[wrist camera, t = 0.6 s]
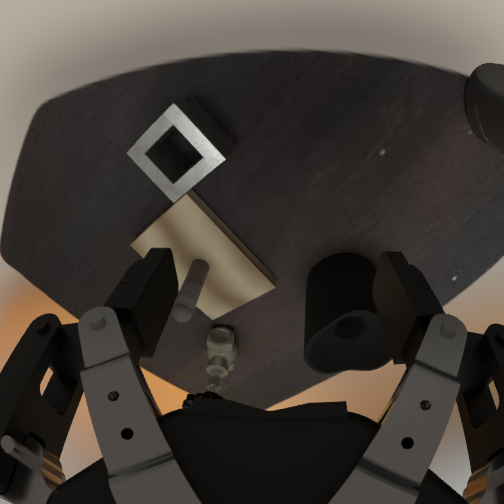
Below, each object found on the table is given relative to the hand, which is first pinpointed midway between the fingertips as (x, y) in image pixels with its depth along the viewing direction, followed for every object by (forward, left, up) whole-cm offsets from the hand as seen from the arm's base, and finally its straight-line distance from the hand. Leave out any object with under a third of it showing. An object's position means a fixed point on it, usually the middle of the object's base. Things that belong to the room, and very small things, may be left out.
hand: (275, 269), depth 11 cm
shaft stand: (+15, +4, -18) cm, 23 cm away
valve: (+23, +16, -18) cm, 33 cm away
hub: (+6, -6, -18) cm, 20 cm away
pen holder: (+4, +16, -18) cm, 25 cm away
